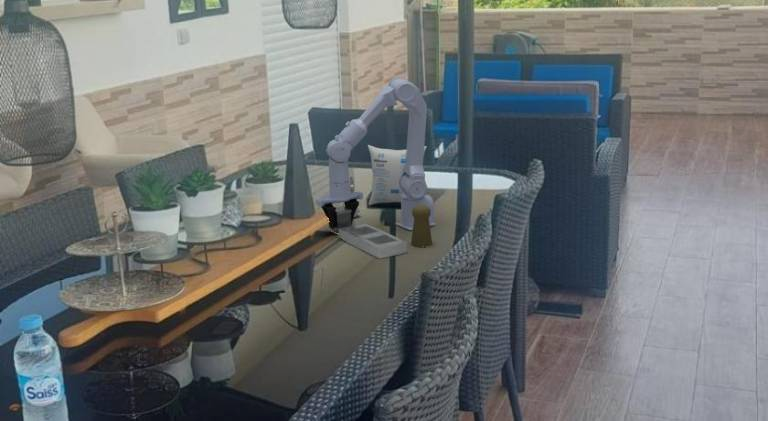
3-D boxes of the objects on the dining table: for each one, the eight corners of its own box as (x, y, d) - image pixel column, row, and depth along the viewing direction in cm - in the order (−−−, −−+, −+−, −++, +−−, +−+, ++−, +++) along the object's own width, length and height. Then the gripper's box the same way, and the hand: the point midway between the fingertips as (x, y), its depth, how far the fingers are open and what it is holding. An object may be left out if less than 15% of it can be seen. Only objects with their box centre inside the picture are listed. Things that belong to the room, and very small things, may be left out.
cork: (430, 247, 252) (430, 209, 249) (409, 246, 253) (408, 208, 250) (433, 241, 258) (433, 203, 255) (412, 240, 259) (412, 203, 256)
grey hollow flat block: (365, 233, 266) (365, 223, 265) (407, 252, 248) (407, 242, 248) (338, 238, 262) (338, 228, 261) (379, 258, 244) (379, 248, 243)
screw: (363, 216, 283) (353, 220, 280) (351, 213, 286) (341, 217, 283) (362, 175, 280) (352, 178, 276) (350, 173, 283) (340, 176, 279)
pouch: (423, 211, 288) (423, 149, 282) (365, 208, 293) (364, 147, 287) (429, 204, 295) (428, 144, 289) (372, 201, 300) (371, 142, 295)
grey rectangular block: (343, 229, 271) (343, 205, 269) (352, 233, 267) (351, 209, 265) (329, 232, 268) (328, 208, 266) (337, 236, 264) (337, 212, 262)
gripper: (353, 175, 270) (355, 218, 274) (310, 182, 263) (312, 227, 267) (366, 179, 265) (367, 224, 268) (322, 187, 257) (324, 232, 261)
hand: (340, 226), depth 267 cm, fingers open, 5 cm apart
